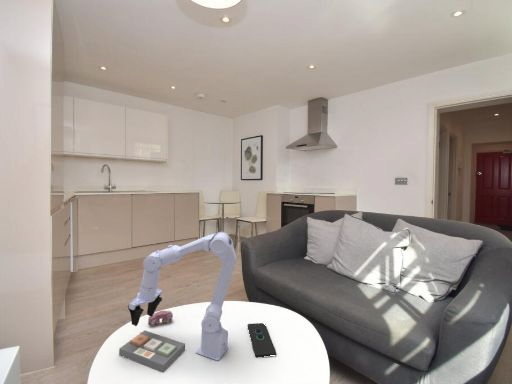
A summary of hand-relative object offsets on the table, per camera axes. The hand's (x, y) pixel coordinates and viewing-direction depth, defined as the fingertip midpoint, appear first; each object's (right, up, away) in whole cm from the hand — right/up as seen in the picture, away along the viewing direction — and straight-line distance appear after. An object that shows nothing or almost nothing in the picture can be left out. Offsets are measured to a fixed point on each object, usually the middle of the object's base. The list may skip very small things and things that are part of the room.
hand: (142, 319), depth 97 cm
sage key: (+11, -9, -5) cm, 15 cm away
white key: (+5, -9, -2) cm, 10 cm away
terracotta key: (-1, -8, 0) cm, 8 cm away
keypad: (+5, -11, -2) cm, 12 cm away
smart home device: (+44, -13, +9) cm, 47 cm away
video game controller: (+1, -10, +16) cm, 19 cm away
